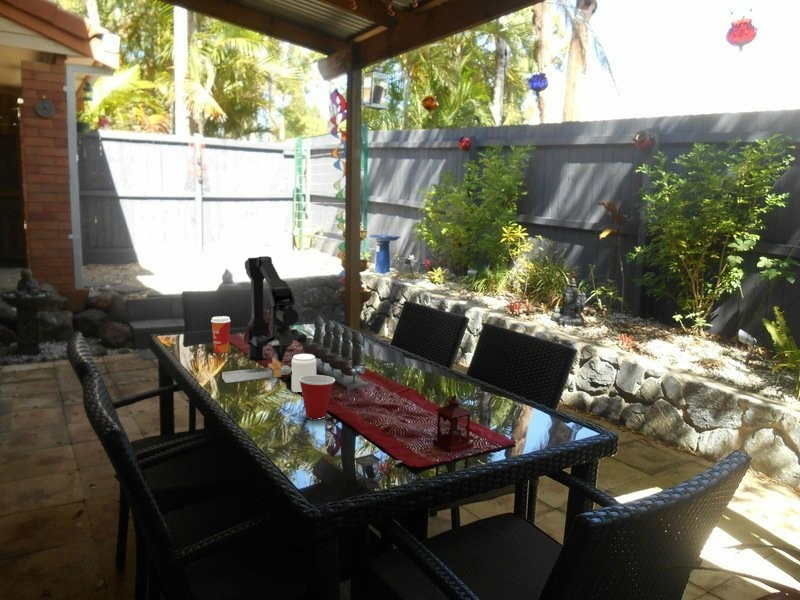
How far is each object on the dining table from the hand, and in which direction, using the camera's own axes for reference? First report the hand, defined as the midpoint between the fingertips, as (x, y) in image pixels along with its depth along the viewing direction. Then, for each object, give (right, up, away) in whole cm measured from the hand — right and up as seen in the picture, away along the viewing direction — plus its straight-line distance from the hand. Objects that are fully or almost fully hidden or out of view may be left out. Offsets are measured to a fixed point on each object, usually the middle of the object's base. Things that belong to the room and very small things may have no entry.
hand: (280, 362), depth 235 cm
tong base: (-8, -5, -4) cm, 10 cm away
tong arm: (-10, -5, -3) cm, 11 cm away
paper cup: (-29, +1, +30) cm, 42 cm away
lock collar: (-2, -5, 0) cm, 5 cm away
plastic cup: (+18, -12, -40) cm, 46 cm away
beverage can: (+11, -8, -17) cm, 22 cm away
